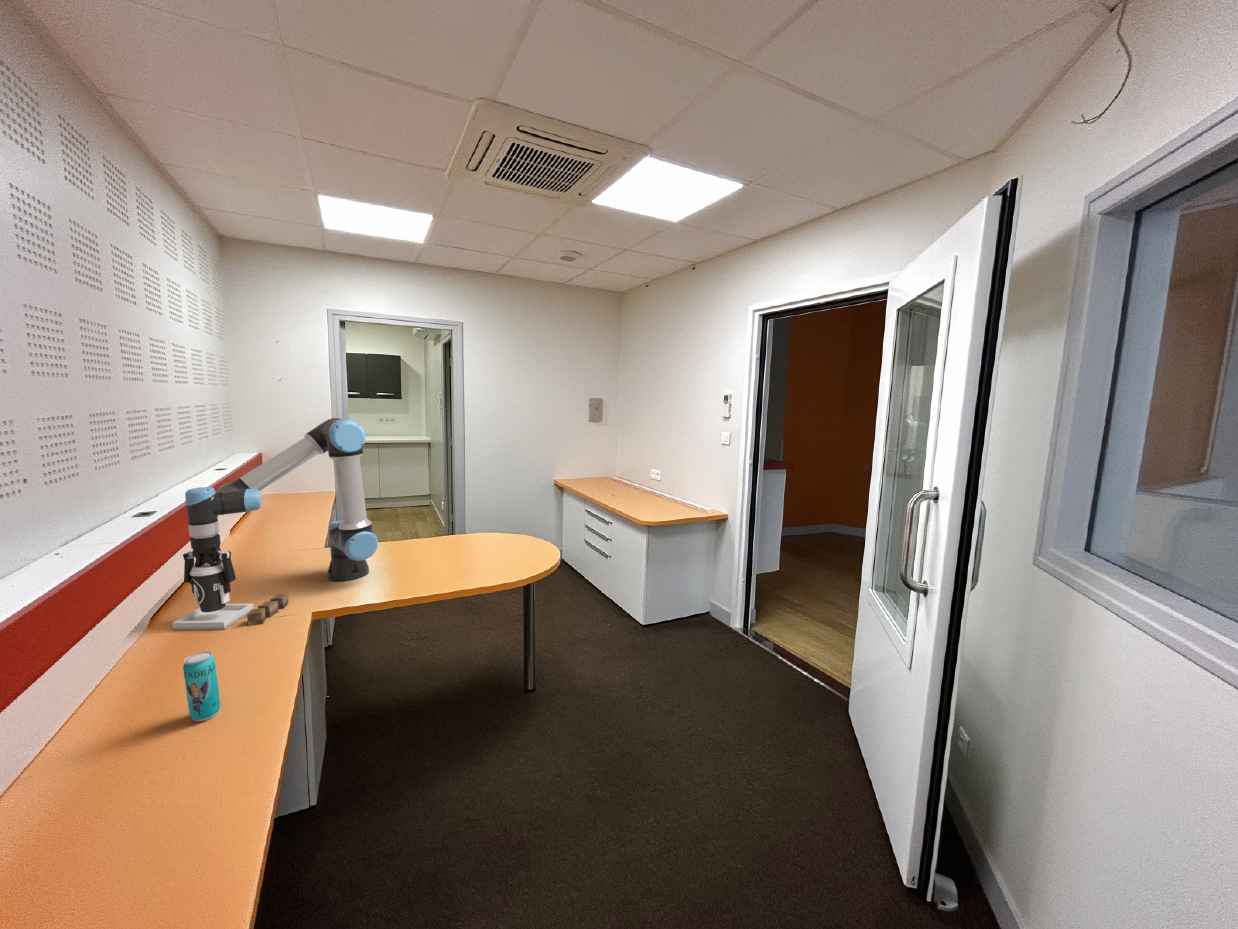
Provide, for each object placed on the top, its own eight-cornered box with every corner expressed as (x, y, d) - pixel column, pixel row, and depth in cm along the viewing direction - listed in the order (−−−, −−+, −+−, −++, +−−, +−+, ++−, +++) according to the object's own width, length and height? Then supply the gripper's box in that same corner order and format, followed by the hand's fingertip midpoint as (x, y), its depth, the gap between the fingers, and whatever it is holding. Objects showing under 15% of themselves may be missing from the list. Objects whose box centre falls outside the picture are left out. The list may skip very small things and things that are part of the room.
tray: (253, 610, 179) (253, 603, 178) (224, 629, 165) (223, 622, 164) (206, 611, 178) (205, 604, 178) (173, 630, 164) (172, 622, 164)
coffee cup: (211, 615, 165) (205, 571, 163) (187, 613, 167) (181, 568, 165) (238, 603, 174) (233, 560, 172) (215, 601, 176) (210, 559, 174)
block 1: (266, 619, 172) (264, 607, 172) (262, 624, 169) (261, 612, 168) (251, 621, 171) (250, 609, 170) (248, 626, 167) (247, 614, 167)
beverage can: (186, 726, 118) (178, 665, 116) (195, 712, 124) (187, 653, 121) (217, 720, 121) (209, 660, 118) (224, 706, 126) (217, 648, 123)
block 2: (278, 612, 178) (277, 601, 177) (270, 617, 174) (269, 606, 173) (267, 611, 178) (266, 601, 177) (259, 617, 174) (257, 605, 173)
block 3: (288, 604, 184) (287, 593, 183) (283, 609, 180) (282, 598, 180) (276, 605, 183) (275, 594, 183) (271, 610, 179) (269, 599, 179)
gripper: (245, 532, 171) (252, 597, 174) (181, 532, 170) (190, 597, 174) (228, 538, 164) (236, 606, 167) (162, 538, 163) (171, 607, 166)
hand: (212, 602), depth 170 cm, fingers closed on coffee cup, 8 cm apart
